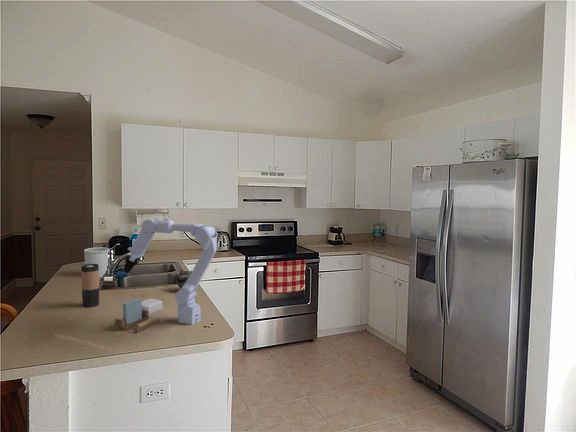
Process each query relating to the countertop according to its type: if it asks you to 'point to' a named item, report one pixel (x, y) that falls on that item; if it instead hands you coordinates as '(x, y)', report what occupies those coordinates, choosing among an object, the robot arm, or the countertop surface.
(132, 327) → the tray
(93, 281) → the travel mug
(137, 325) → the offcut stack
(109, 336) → the countertop surface
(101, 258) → the utensil holder
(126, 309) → the board
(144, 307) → the charger
